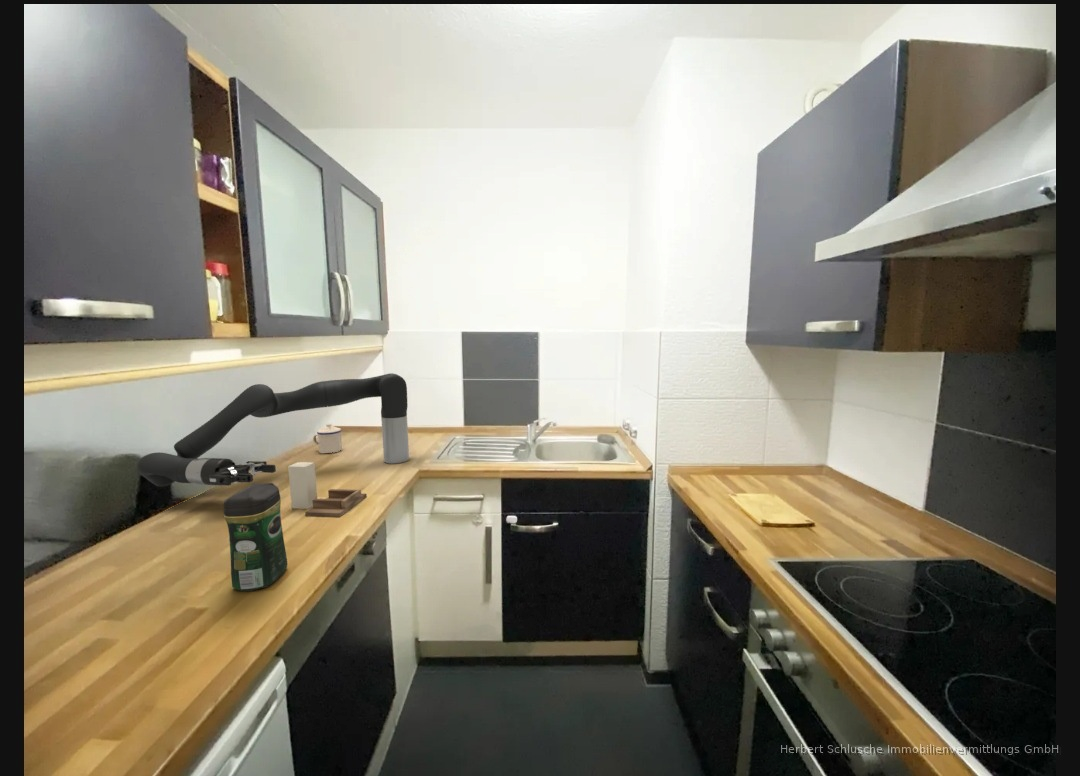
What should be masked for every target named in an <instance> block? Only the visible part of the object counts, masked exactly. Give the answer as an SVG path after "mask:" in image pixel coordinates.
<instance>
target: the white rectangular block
mask: <svg viewBox="0 0 1080 776" xmlns="http://www.w3.org/2000/svg"><path fill="white" fill-rule="evenodd" d="M287 470H288V480H289V482H288V483H289V492H290V501H291V505H290V506H291V509H300V510H301V509H304V510H310V509H311V508H313V502H312V500H314V499H318V492H317V490H318V489H317V480H316V479H317V478H316V466H315V462H307V461H305V462H304V461H302V462H301V461H297V462H295V463H293V464H290V465H288V466H287Z"/></svg>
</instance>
